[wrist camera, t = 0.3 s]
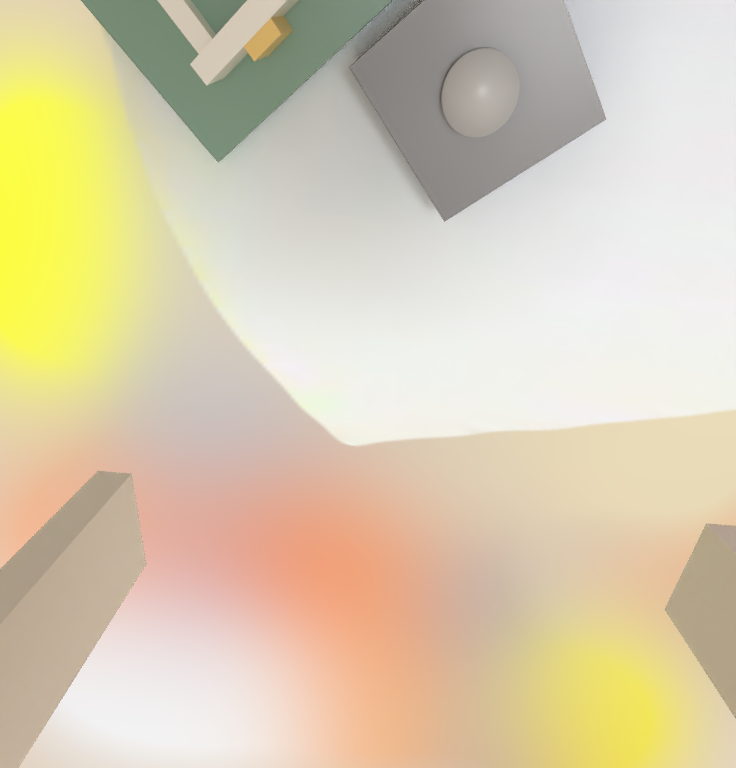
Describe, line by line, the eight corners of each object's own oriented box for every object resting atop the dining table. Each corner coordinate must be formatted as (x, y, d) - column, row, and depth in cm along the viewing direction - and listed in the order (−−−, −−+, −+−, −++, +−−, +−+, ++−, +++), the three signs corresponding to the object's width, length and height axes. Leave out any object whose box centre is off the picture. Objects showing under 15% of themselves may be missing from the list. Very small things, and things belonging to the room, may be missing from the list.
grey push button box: (517, -84, 22) (532, -97, 19) (588, 106, 27) (609, 121, 24) (356, 60, 27) (348, 68, 24) (442, 202, 32) (444, 225, 29)
